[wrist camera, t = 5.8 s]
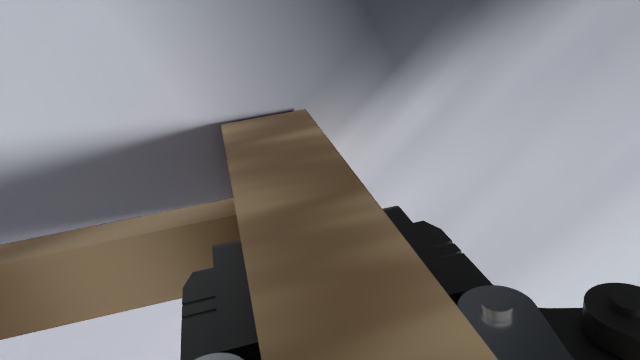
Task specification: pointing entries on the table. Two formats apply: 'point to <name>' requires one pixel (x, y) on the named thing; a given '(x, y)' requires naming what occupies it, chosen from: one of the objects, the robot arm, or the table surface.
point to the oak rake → (257, 259)
